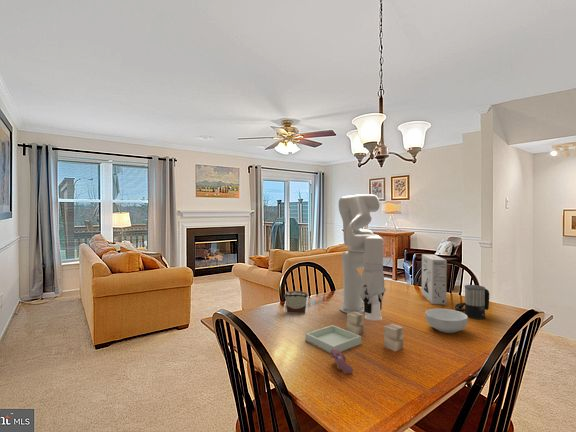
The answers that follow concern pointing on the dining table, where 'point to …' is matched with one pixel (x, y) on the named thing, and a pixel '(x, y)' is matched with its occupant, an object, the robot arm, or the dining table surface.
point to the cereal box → (434, 278)
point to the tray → (333, 338)
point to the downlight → (374, 310)
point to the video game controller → (341, 361)
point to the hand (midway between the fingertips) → (372, 310)
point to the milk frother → (475, 301)
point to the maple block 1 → (355, 322)
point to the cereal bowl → (446, 320)
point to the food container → (296, 301)
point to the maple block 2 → (393, 337)
